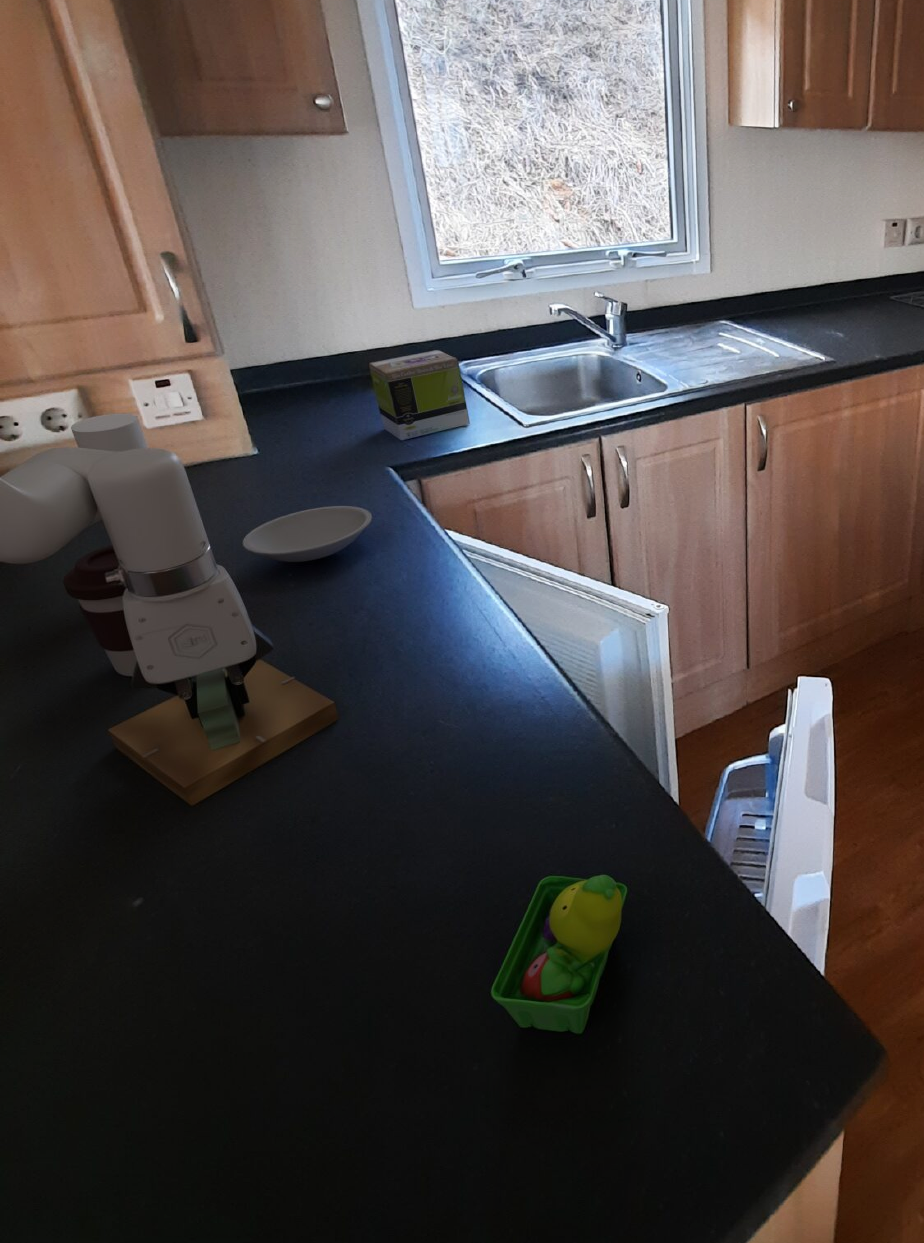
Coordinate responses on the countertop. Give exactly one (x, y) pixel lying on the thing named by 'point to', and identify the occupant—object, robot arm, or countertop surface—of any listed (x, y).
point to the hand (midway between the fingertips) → (222, 713)
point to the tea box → (419, 394)
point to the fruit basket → (560, 952)
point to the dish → (308, 533)
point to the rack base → (197, 771)
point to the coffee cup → (103, 606)
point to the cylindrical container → (110, 433)
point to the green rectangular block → (217, 709)
